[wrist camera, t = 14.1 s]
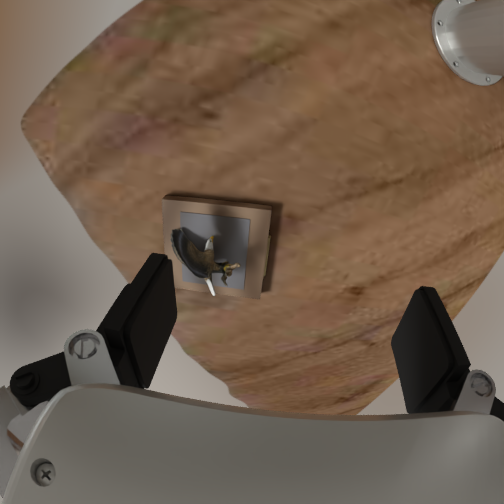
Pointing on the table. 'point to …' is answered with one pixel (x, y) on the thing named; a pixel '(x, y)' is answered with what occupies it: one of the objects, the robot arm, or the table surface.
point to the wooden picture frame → (220, 241)
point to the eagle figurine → (200, 259)
